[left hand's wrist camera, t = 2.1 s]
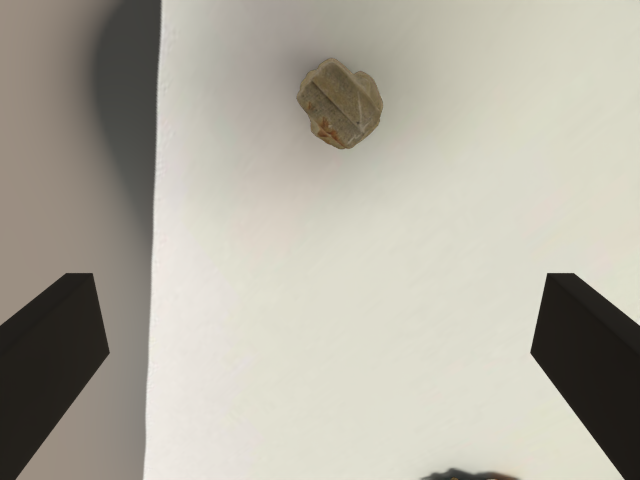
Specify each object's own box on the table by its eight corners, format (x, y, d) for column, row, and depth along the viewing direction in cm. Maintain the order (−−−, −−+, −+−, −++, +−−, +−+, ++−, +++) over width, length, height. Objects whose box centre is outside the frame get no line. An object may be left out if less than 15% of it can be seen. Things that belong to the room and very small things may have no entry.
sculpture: (338, 47, 39) (349, 33, 25) (386, 110, 41) (422, 130, 27) (290, 91, 40) (275, 102, 26) (339, 150, 42) (349, 189, 28)
